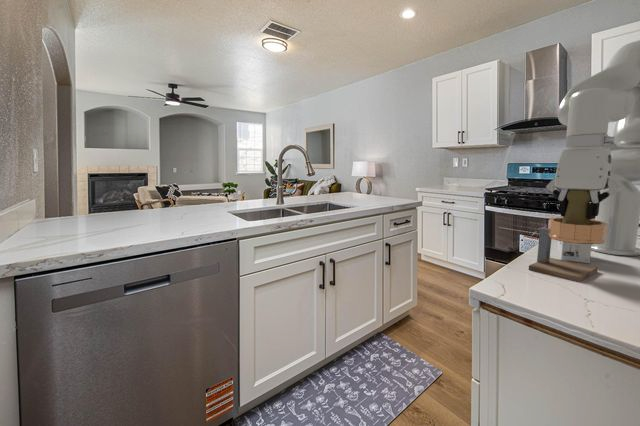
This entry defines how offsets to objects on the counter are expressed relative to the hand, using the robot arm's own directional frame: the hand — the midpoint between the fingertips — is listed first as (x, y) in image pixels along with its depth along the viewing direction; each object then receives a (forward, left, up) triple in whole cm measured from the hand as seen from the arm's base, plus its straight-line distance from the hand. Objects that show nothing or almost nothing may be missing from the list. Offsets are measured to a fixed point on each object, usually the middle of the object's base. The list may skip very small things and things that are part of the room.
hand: (577, 216), depth 78 cm
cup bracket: (0, -1, -15) cm, 15 cm away
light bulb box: (-16, -5, -15) cm, 22 cm away
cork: (0, 0, -4) cm, 4 cm away
